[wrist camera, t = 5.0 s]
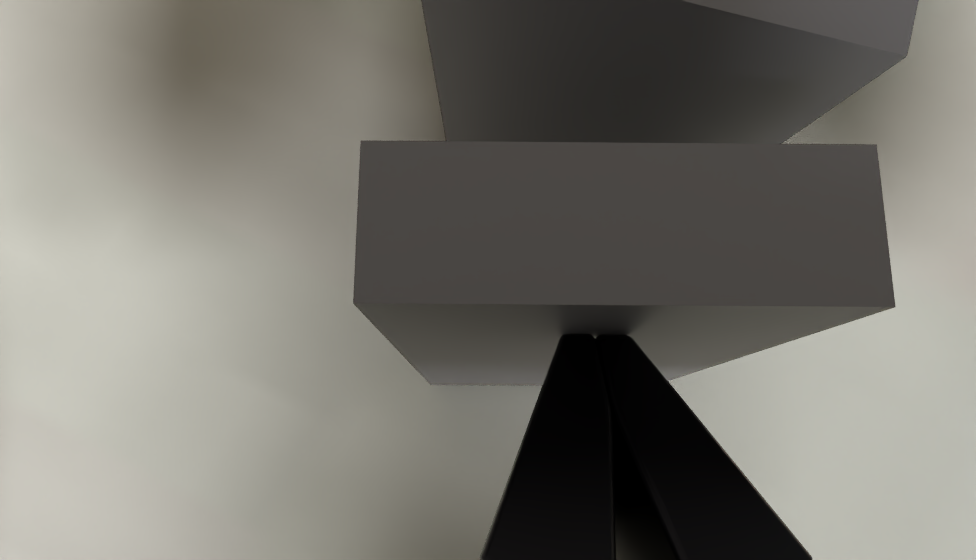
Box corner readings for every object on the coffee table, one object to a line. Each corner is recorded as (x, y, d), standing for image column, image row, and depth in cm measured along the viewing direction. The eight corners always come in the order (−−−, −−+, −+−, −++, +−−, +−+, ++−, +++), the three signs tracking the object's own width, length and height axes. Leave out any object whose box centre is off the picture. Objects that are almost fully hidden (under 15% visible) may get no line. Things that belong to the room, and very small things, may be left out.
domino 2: (651, 385, 17) (894, 307, 7) (430, 384, 17) (354, 302, 7) (649, 316, 17) (876, 144, 7) (432, 314, 17) (360, 140, 7)
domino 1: (659, 227, 17) (906, 56, 7) (452, 175, 17) (409, -67, 7) (675, 162, 17) (938, -94, 7) (469, 111, 17) (450, -213, 7)
